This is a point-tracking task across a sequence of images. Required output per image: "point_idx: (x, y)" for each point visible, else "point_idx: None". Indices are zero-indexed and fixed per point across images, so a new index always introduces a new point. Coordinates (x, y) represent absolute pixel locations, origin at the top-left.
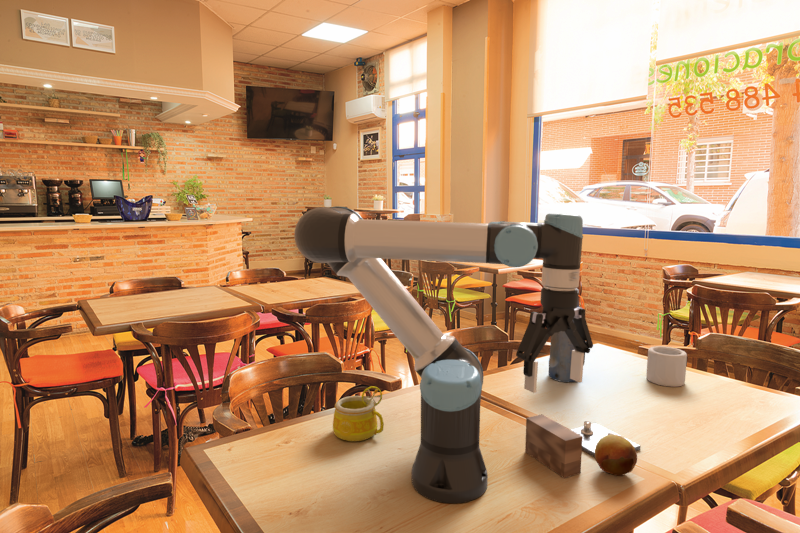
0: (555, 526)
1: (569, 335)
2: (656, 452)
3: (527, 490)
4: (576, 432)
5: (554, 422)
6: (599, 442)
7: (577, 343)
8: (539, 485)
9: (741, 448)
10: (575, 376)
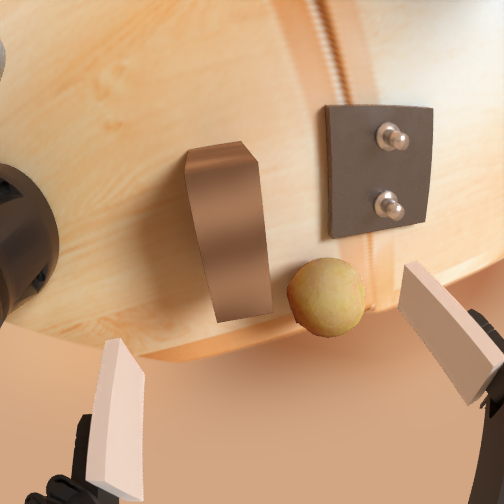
0: (133, 355)
1: (487, 497)
2: (430, 233)
3: (123, 285)
4: (367, 125)
5: (257, 229)
6: (312, 300)
7: (485, 448)
8: (151, 277)
9: (500, 254)
10: (410, 302)
